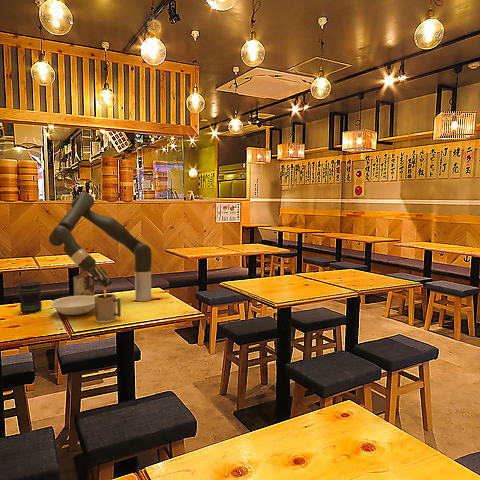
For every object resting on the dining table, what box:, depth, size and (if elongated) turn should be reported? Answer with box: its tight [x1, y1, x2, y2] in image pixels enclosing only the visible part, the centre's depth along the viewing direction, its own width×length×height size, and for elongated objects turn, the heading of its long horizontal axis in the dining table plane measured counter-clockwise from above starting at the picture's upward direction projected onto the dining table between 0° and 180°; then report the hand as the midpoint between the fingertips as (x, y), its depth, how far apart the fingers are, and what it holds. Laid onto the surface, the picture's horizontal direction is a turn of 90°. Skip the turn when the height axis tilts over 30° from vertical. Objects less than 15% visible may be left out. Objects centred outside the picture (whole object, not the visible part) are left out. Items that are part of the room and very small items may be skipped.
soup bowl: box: [49, 295, 97, 316], centre depth 201 cm, size 24×24×7 cm
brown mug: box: [94, 293, 122, 324], centre depth 189 cm, size 10×12×12 cm
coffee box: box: [72, 273, 95, 296], centre depth 219 cm, size 9×6×16 cm
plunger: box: [99, 276, 111, 298], centre depth 188 cm, size 6×6×18 cm
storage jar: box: [19, 281, 42, 314], centre depth 203 cm, size 10×10×15 cm
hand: (108, 285), depth 187 cm, fingers closed on plunger, 3 cm apart
